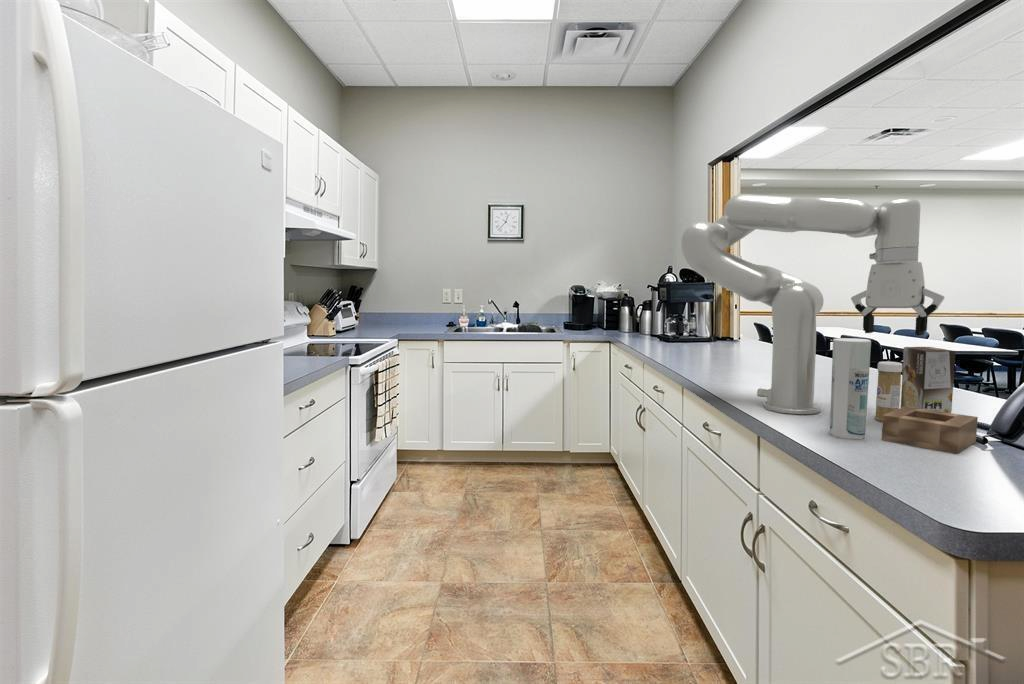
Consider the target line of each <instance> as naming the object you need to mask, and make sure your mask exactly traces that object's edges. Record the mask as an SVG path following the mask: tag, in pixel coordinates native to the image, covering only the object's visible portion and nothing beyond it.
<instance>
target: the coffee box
mask: <svg viewBox="0 0 1024 684" xmlns="http://www.w3.org/2000/svg"><path fill="white" fill-rule="evenodd" d="M902 353H903V355H902V356H903V357H902V372H901V391H900V408H902V407H911V408H918V409H925V410H932V411H939V412H946V413H953V412H952V410H953V409H952V407H953V394H954V378H955V377H954V376H955V365H956V364H955V363H956V350H950V349H945V348H939V347H933V346H905V347H903V352H902Z"/></svg>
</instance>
